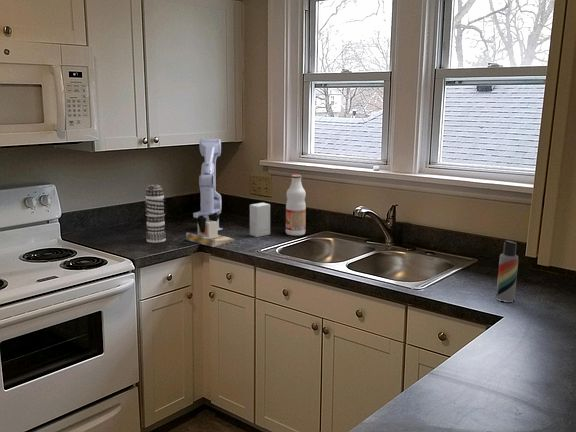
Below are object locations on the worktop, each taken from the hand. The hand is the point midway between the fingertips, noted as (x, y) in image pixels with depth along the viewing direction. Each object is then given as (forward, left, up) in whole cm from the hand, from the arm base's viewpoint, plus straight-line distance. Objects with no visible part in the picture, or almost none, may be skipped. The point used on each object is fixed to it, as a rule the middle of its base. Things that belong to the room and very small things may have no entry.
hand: (207, 231), depth 262 cm
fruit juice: (+19, +38, -5) cm, 43 cm away
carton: (0, 0, -2) cm, 3 cm away
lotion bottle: (+129, +15, -5) cm, 130 cm away
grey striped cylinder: (-17, -16, -5) cm, 23 cm away
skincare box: (+9, +24, -5) cm, 26 cm away
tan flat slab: (+1, +1, -4) cm, 5 cm away
